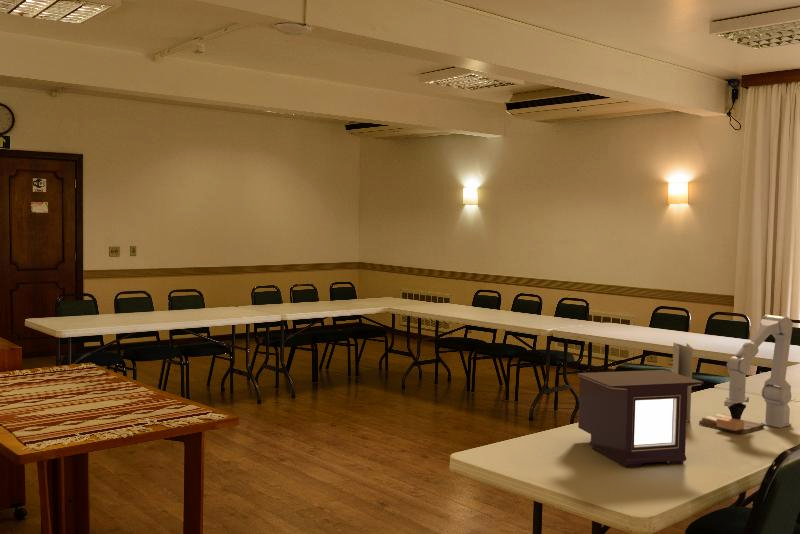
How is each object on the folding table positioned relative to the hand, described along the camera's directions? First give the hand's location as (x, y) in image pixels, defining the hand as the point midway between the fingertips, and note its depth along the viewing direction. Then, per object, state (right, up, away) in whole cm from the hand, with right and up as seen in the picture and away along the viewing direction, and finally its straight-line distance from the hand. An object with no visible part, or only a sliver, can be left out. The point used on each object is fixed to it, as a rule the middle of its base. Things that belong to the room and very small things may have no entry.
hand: (735, 422), depth 305 cm
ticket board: (+1, -3, +6) cm, 7 cm away
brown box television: (-51, -4, -31) cm, 60 cm away
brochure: (-15, -2, +20) cm, 25 cm away
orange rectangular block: (-3, -1, -2) cm, 4 cm away
